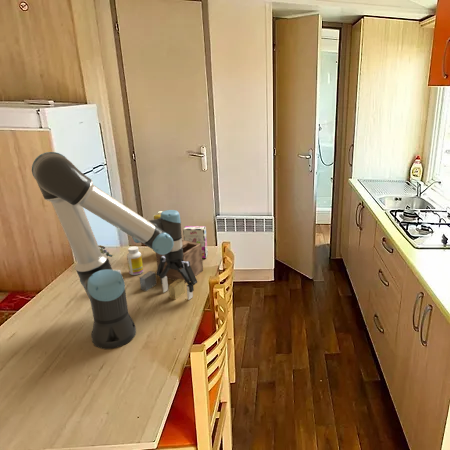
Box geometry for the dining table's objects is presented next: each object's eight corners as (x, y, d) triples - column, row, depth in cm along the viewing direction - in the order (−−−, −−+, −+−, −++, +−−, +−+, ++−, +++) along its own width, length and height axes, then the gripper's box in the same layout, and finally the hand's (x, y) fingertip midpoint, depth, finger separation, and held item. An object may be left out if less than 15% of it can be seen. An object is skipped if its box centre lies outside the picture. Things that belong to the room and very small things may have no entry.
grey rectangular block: (146, 291, 161) (144, 278, 159) (141, 289, 162) (139, 277, 160) (156, 284, 167) (155, 272, 165) (151, 282, 168) (150, 270, 166)
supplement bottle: (146, 271, 179) (143, 246, 175) (136, 276, 174) (133, 251, 170) (136, 268, 183) (133, 244, 178) (126, 273, 177) (122, 249, 173)
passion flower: (105, 269, 195) (116, 251, 193) (95, 275, 184) (107, 256, 182) (87, 257, 195) (98, 239, 193) (77, 263, 184) (88, 243, 182)
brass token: (175, 299, 153) (174, 287, 151) (169, 298, 155) (168, 285, 153) (185, 292, 159) (184, 279, 157) (179, 290, 160) (178, 278, 158)
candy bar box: (208, 255, 194) (206, 225, 189) (206, 259, 190) (204, 229, 184) (187, 254, 196) (185, 225, 191) (185, 258, 192) (182, 228, 186)
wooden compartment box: (185, 283, 166) (183, 254, 162) (158, 275, 174) (155, 248, 169) (203, 270, 177) (201, 243, 173) (176, 264, 185) (174, 238, 181)
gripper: (203, 249, 147) (206, 297, 154) (156, 240, 158) (161, 284, 166) (192, 256, 140) (196, 305, 148) (144, 246, 152) (149, 292, 160)
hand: (177, 294), depth 157 cm, fingers open, 12 cm apart
